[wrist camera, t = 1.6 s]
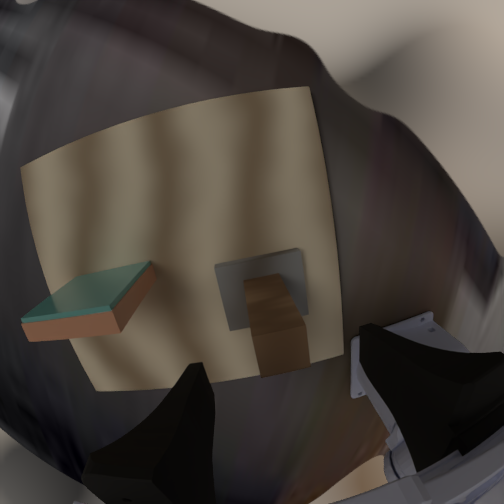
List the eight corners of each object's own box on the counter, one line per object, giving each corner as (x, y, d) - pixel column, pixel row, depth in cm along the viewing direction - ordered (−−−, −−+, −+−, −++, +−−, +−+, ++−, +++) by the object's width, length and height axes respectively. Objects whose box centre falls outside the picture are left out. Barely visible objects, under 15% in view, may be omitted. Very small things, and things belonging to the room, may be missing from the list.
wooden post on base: (297, 247, 20) (340, 291, 12) (305, 308, 22) (343, 375, 13) (214, 264, 20) (206, 320, 12) (229, 324, 21) (231, 400, 13)
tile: (151, 259, 20) (110, 305, 12) (156, 279, 20) (120, 333, 12) (75, 276, 19) (19, 319, 12) (81, 293, 20) (29, 341, 12)
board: (305, 90, 18) (308, 86, 17) (339, 348, 24) (343, 354, 23) (27, 167, 18) (20, 167, 17) (99, 385, 23) (96, 391, 22)
